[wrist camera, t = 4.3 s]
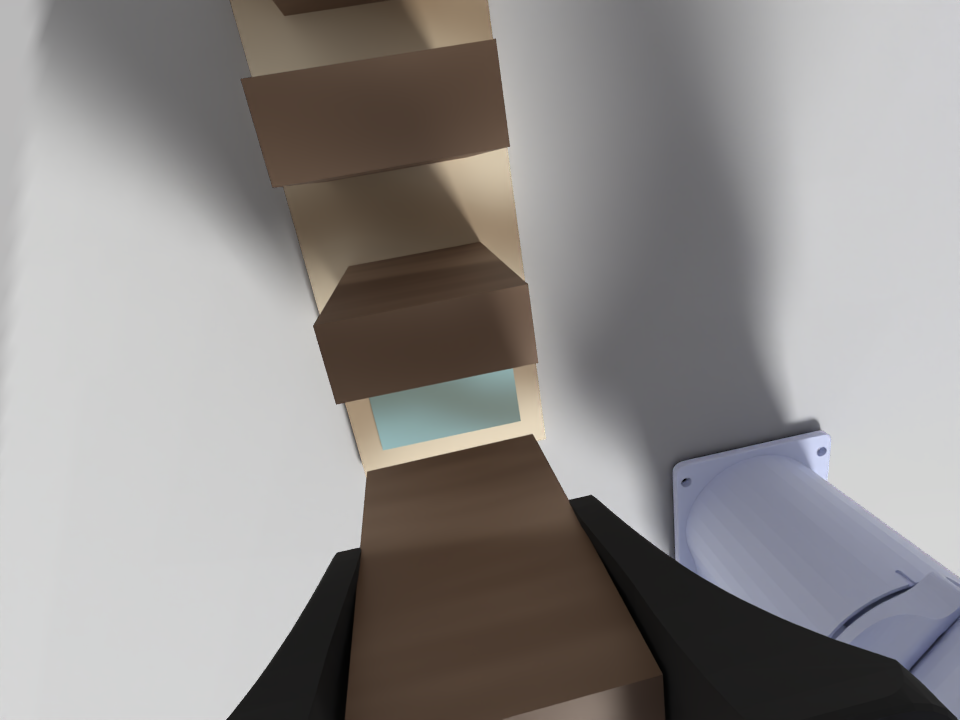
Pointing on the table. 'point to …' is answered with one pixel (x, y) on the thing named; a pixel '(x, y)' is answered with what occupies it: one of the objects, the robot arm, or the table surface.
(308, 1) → the domino
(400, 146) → the domino
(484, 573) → the domino
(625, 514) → the table surface
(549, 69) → the table surface
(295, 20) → the board
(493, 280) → the domino
